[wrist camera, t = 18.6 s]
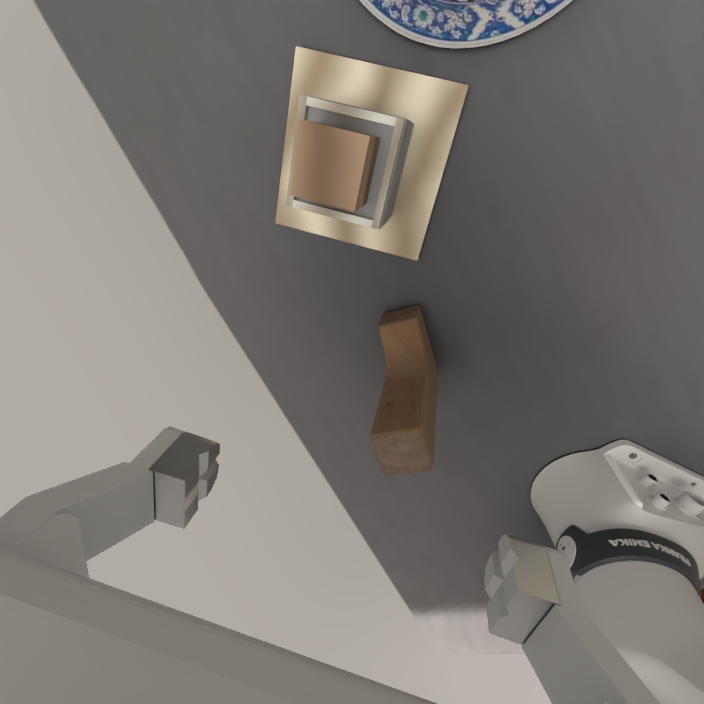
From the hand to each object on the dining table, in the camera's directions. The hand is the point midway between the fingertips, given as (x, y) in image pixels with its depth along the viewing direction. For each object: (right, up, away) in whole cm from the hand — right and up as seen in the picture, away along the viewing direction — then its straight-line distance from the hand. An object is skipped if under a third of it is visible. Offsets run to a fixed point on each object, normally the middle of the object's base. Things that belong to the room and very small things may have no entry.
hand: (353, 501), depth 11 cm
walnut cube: (-1, +19, +22) cm, 29 cm away
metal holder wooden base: (+1, +24, +30) cm, 38 cm away
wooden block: (+7, +6, +38) cm, 39 cm away
